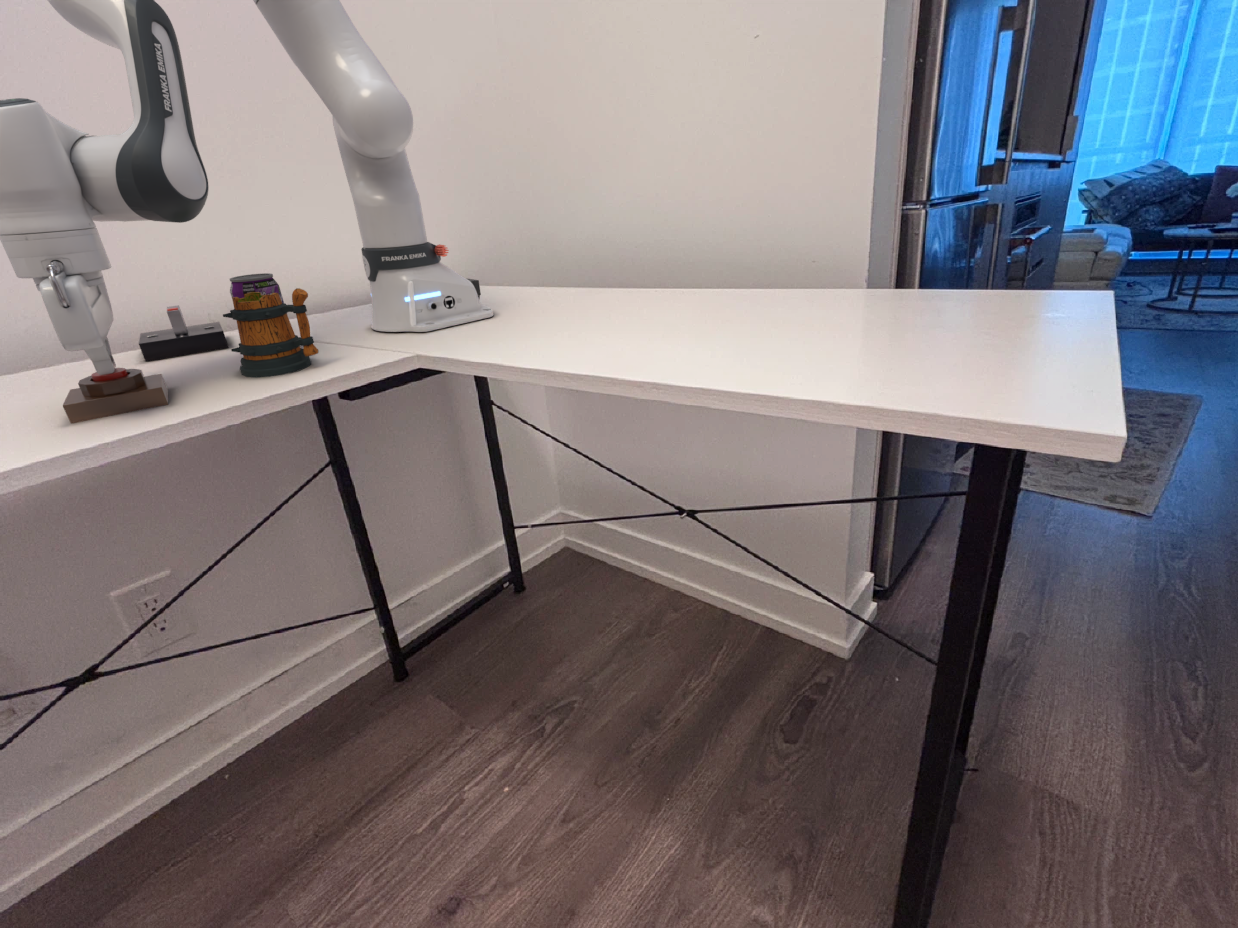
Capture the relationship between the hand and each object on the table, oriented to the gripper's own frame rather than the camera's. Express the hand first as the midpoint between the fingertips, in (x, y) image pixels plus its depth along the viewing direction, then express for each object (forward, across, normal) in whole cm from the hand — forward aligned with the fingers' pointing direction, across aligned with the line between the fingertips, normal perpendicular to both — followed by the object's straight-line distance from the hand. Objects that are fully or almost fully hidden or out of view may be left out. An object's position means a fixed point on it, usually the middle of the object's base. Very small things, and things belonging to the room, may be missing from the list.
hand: (107, 371), depth 79 cm
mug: (+5, +4, -20) cm, 21 cm away
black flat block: (+5, +31, -8) cm, 32 cm away
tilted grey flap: (+2, +31, -8) cm, 32 cm away
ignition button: (+2, 0, 0) cm, 2 cm away
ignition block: (+5, 0, 0) cm, 5 cm away
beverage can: (+5, +18, -20) cm, 27 cm away
